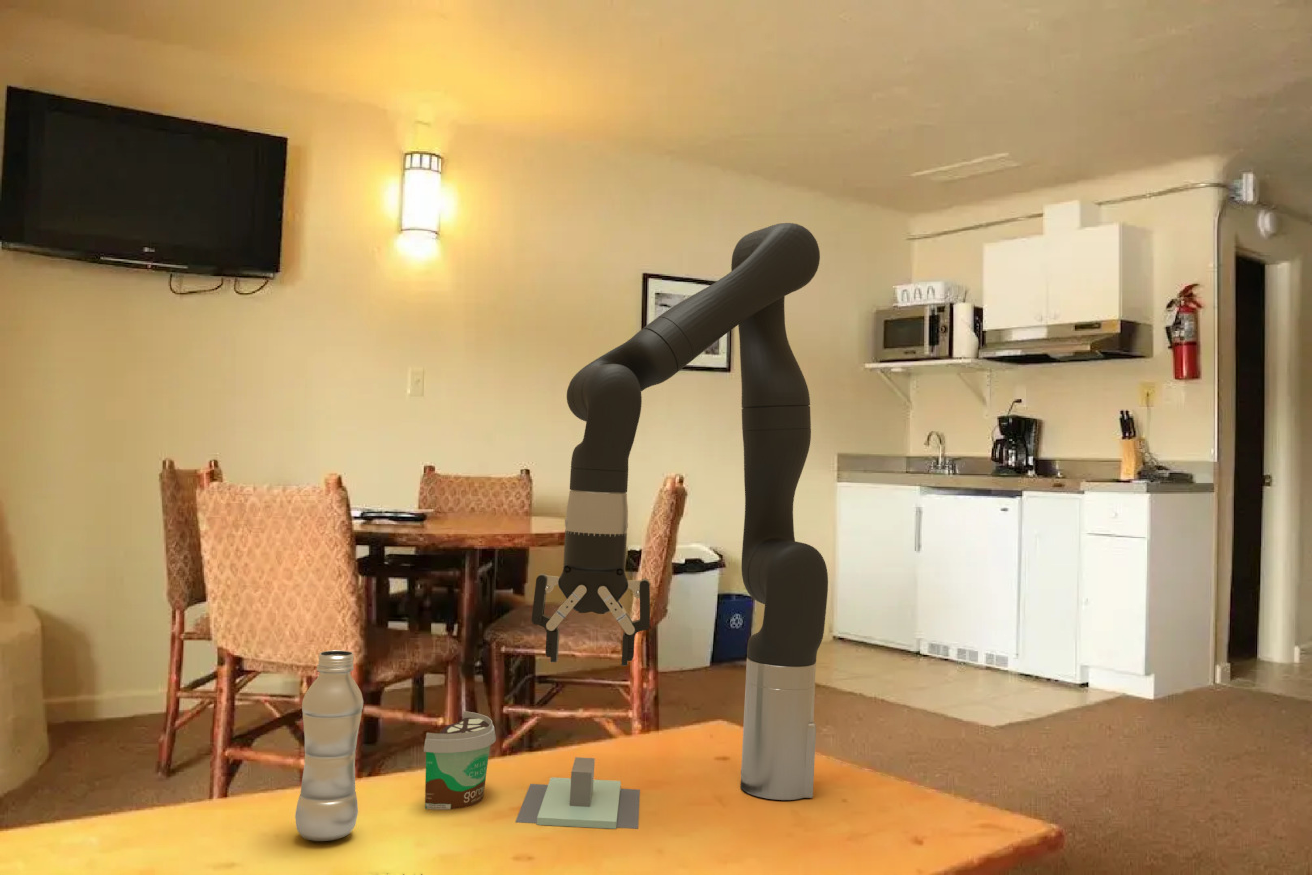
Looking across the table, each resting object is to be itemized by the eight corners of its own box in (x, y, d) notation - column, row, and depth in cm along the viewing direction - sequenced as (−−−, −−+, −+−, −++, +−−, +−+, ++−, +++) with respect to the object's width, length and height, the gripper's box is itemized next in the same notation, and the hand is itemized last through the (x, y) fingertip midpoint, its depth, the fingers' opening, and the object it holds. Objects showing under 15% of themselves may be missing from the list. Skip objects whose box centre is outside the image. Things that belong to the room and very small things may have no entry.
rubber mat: (639, 797, 130) (639, 789, 130) (637, 837, 116) (638, 828, 116) (529, 791, 130) (530, 783, 130) (514, 830, 116) (515, 821, 116)
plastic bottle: (368, 832, 114) (379, 651, 114) (330, 853, 107) (342, 661, 108) (320, 822, 116) (331, 645, 116) (280, 842, 109) (291, 654, 110)
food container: (469, 827, 117) (474, 739, 117) (419, 821, 118) (424, 733, 118) (506, 794, 129) (511, 714, 129) (460, 789, 130) (465, 710, 130)
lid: (620, 787, 131) (622, 749, 131) (616, 828, 116) (618, 786, 116) (550, 783, 131) (552, 745, 131) (536, 824, 116) (539, 781, 116)
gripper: (654, 530, 128) (648, 660, 128) (541, 524, 128) (534, 654, 128) (654, 534, 121) (647, 672, 120) (534, 527, 121) (526, 665, 120)
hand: (589, 662), depth 124 cm, fingers open, 8 cm apart
